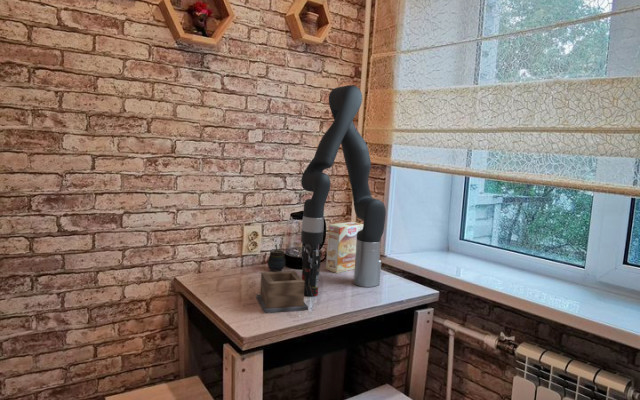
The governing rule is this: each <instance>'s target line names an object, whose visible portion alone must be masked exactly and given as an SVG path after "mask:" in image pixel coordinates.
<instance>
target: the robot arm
mask: <svg viewBox="0 0 640 400" xmlns="http://www.w3.org/2000/svg"><path fill="white" fill-rule="evenodd" d="M362 104H363V94H362V91H361V89H360V87H358V86H357V85H353V84H352V85H351V84H350V85H345V86H344V85H343V86H339V87H335V88H333V89H332V90H331V91H330V93H329V94H328V105H329V107H330V108H329V109H330V112H331V114H332V117H333V122H332V124H331V125H330V127H329V128H328V129H327V131H325V133H324V134H323V136H322V137H321V139H320V141H319V142H318V146H317V148H316V150H315V154H314V157H313V158H312V160H311V161H310V162H309V164H308V165H307V167H305V170H304V171H303V172H302V176H301V179H300V184H301V187H302V188H303V190H305V191H306V192H309V193H310V192H311V193H312V196H311V198H307V199H306V200H304V203H303V216H302V220H301V233H300V241H301V243H302V245H301V254H300V255H301V256H300V257H301V258H302V259H303V252H306V253H307V254H308V262H310V267H311V268H310V278H311V279H316V277H317V268H319V269H320V268H321V259H322V258H321V257H322V255H321V253H322V251H321V249H318V245H321V244H322V243H323V238H324V225H325V223H324V222H325V221H324V215H325V214H324V213H325V204H326V202H327V198H328V196H329V192H330V189H331V179H330V176H329V175H328V173H326V172H324V170H328V169H330V168H332V167H333V165H334V164H335V160H336V158H337V156H338V155H337V154H338V152H339V150H340V146H341V149H342V153H343V159H344V163H345V166H346V170H347V174H348V178H349V179H348V180H349V183H350V186H351V192H352V200H353V209H354V213H355V215H356V217H357V218H358V219H359V220H361V221H363V223H362V224H363V229H362V230H360V231H358V232H357V240H356V255H355V269H353V270H354V271H353V272H354V273H353V284H354V285H356V286H359V287H364V288H372V287H373V288H374V287H377V286H379V285H380V284H381V272H382V271H381V268H382V261H381V259H380V257H381V256H380V255H381V240H382V236H383V234H384V231H385V223H386V215H387V212H386V206H385V203H384V202H383V201H381V200H380V199H376V198H373V196H372V194H371V190H370V186H369V177H370V172H371V167H372V162H371V156H370V151H369V147H368V145H367V142H366V141H365V139H364V137H363V136H362V135H361V134H360V131H358V129H357V128H356V126H355V124H354V121H353V120H354V118H355V117H356V115H357V113H358V111H359V110H360V109H361V106H362ZM310 255H311V256H312V255H313V259H311V258H310Z"/></svg>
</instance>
